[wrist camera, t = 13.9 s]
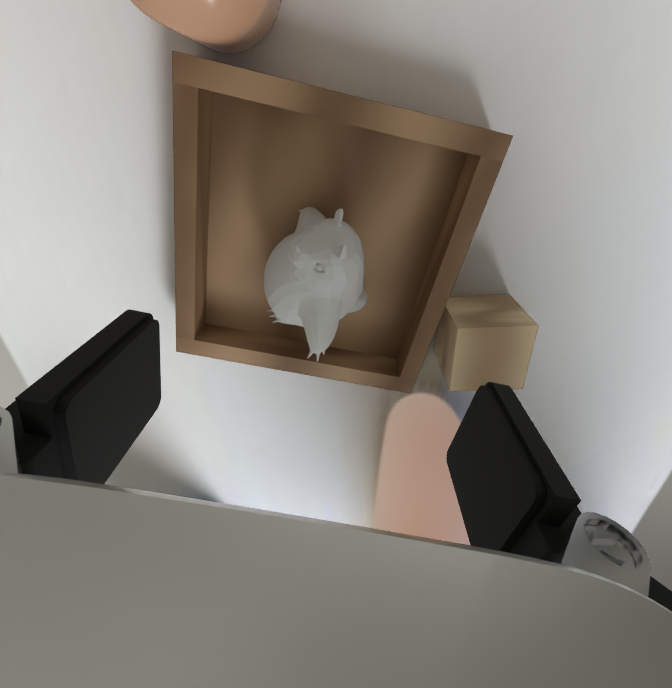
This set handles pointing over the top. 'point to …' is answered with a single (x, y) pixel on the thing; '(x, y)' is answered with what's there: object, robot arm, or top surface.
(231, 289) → the walnut tray
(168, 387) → the top surface
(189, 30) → the oval beige cylinder
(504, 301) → the oak block
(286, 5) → the top surface
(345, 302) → the figurine
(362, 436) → the top surface
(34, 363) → the top surface
